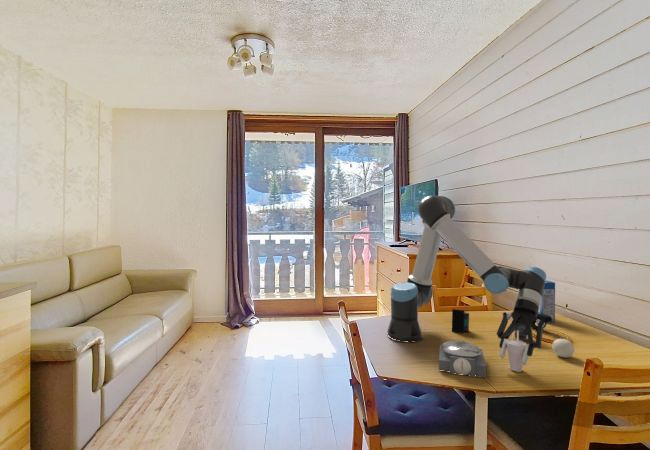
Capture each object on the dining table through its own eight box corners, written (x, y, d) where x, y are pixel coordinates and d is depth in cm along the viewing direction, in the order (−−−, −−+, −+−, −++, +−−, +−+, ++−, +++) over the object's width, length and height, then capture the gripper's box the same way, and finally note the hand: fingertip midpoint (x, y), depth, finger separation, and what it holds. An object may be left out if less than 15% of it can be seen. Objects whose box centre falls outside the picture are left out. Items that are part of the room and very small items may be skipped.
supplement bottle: (532, 342, 141) (532, 315, 141) (517, 341, 143) (517, 315, 142) (527, 336, 147) (527, 311, 147) (512, 336, 149) (512, 311, 148)
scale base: (438, 372, 116) (438, 355, 116) (440, 353, 131) (439, 339, 131) (486, 379, 111) (486, 361, 110) (481, 359, 126) (481, 343, 125)
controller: (529, 325, 162) (529, 304, 162) (553, 333, 151) (553, 311, 150) (522, 326, 161) (522, 305, 161) (546, 334, 149) (546, 312, 149)
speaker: (463, 334, 151) (463, 311, 152) (451, 331, 155) (451, 309, 156) (471, 331, 156) (471, 309, 156) (459, 329, 160) (459, 307, 161)
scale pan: (442, 355, 117) (442, 352, 117) (442, 341, 129) (442, 338, 129) (482, 360, 113) (482, 357, 113) (479, 345, 125) (479, 343, 125)
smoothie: (519, 375, 113) (519, 334, 112) (501, 367, 118) (501, 328, 118) (530, 370, 116) (531, 331, 115) (512, 363, 121) (513, 325, 121)
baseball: (577, 357, 126) (578, 340, 126) (569, 362, 122) (569, 344, 122) (557, 351, 132) (558, 334, 132) (549, 355, 128) (549, 338, 128)
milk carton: (554, 322, 166) (555, 282, 165) (542, 322, 166) (542, 282, 165) (542, 316, 176) (542, 278, 175) (530, 316, 176) (530, 278, 175)
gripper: (559, 314, 120) (547, 374, 109) (502, 304, 134) (486, 356, 123) (556, 303, 116) (543, 364, 105) (497, 293, 130) (480, 346, 119)
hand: (512, 360), depth 114 cm, fingers closed on smoothie, 6 cm apart
